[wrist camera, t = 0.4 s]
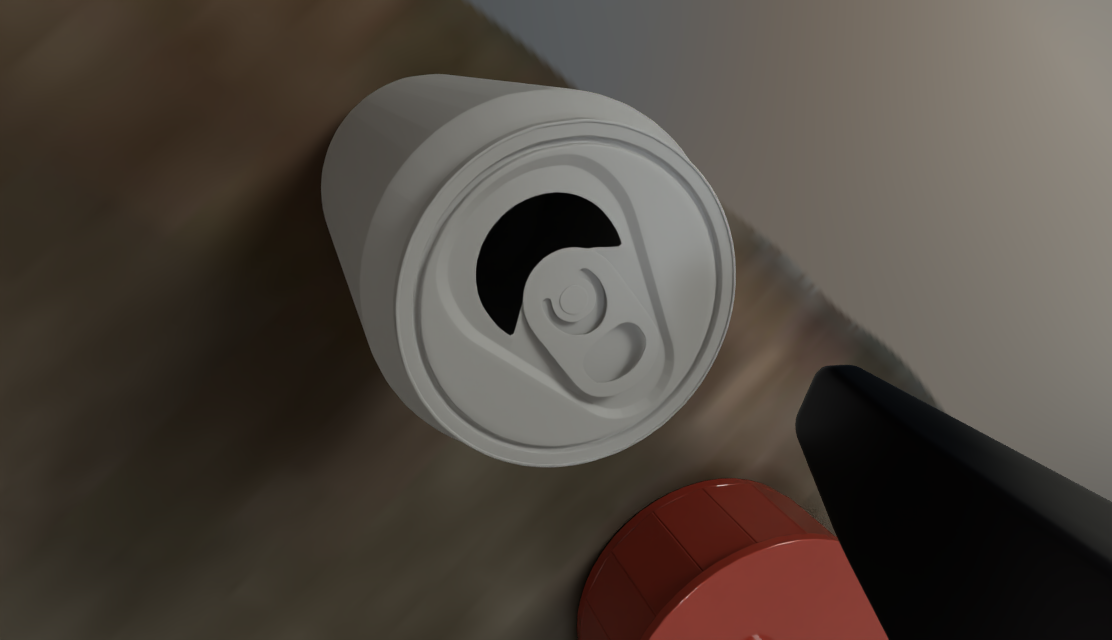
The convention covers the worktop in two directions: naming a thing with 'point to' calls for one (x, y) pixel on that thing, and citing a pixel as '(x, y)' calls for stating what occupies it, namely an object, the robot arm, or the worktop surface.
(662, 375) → the beverage can
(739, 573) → the pot lid
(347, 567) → the worktop surface
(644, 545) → the pot
